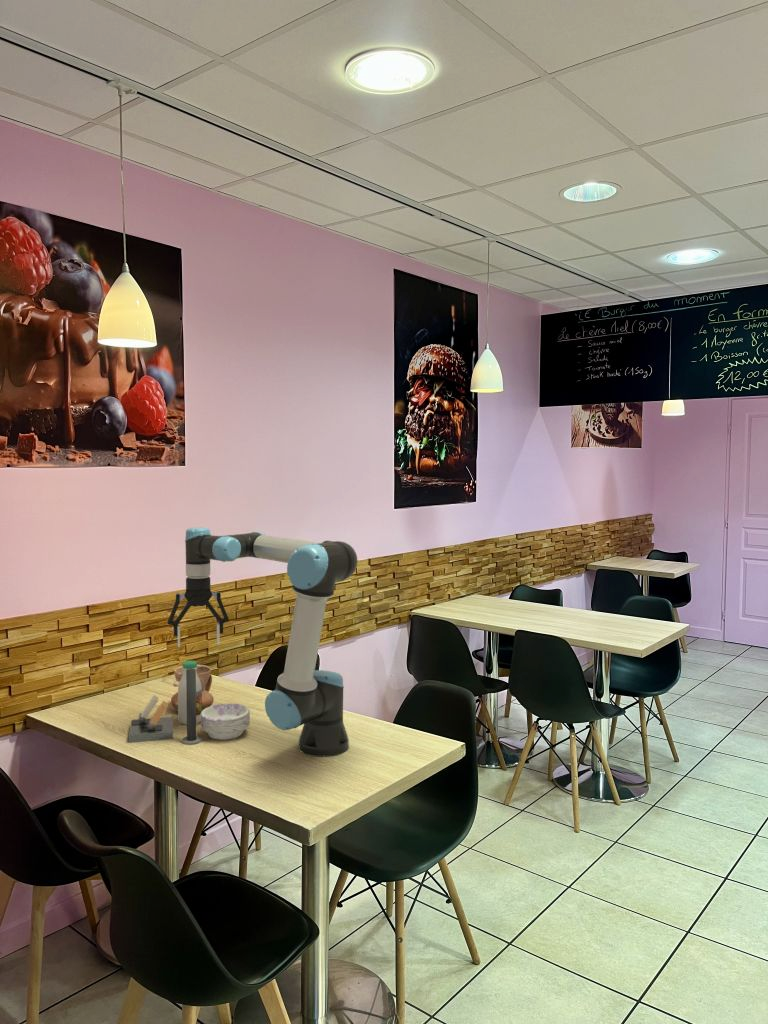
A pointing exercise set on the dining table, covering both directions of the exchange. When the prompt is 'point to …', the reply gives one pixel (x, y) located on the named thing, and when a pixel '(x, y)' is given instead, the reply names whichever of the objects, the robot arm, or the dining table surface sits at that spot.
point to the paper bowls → (225, 720)
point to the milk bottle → (183, 695)
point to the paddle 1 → (148, 709)
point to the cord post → (191, 709)
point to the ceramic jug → (205, 681)
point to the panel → (160, 732)
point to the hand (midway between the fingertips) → (198, 644)
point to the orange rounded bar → (157, 715)
